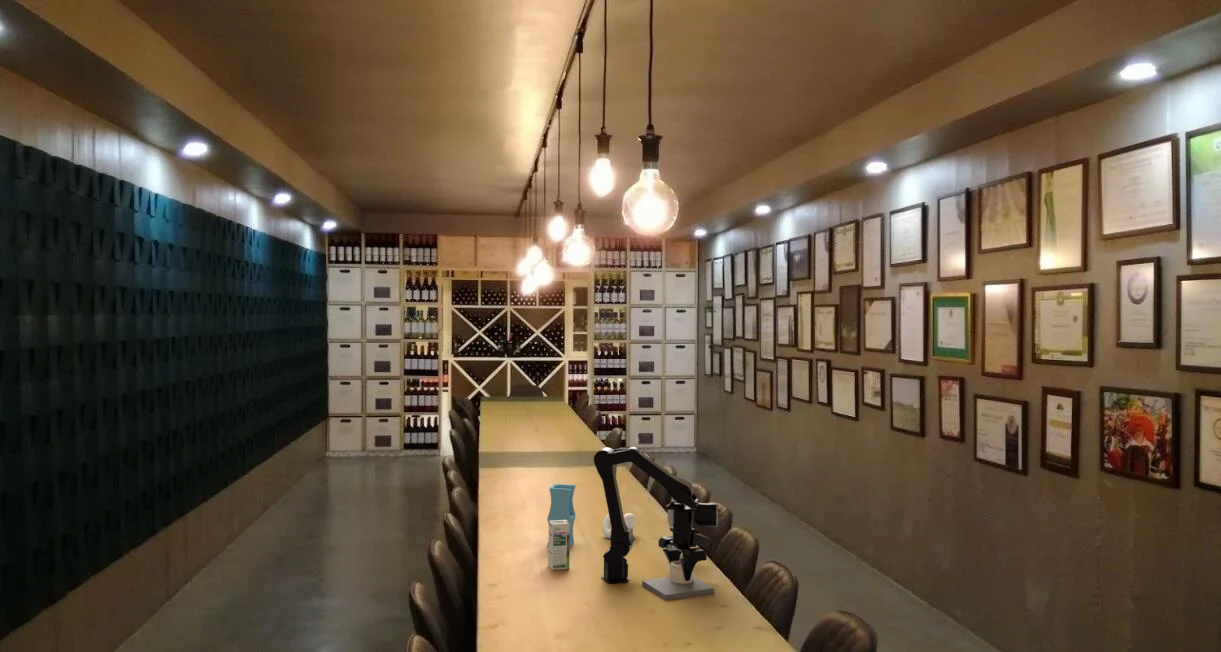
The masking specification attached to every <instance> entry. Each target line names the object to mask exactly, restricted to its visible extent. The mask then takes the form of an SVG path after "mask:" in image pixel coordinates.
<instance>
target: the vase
mask: <svg viewBox="0 0 1221 652" xmlns="http://www.w3.org/2000/svg"><path fill="white" fill-rule="evenodd" d="M548 489H549V493H550V509H549V512H548V516H547V525H548V526H549V521H554V520H567V521H568V522H569V523H570V548H571V547H572V546H573V545H574V543H575V541H574V525H575V524H574V523H575V521H576V512H575V508H574V502H573V500H574V494H575V490H576V484H565V483H564V484H560V483H554V484H552V485H551V486H549V488H548ZM548 544H549V540H548V542H547V547H548Z"/></svg>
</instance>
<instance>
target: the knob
mask: <svg viewBox="0 0 1221 652" xmlns="http://www.w3.org/2000/svg"><path fill="white" fill-rule="evenodd" d="M694 570H695V569H693V571H692V574H691V577H690V580H689V581H685V577H684V574H683V570H682V566H681V562H680V560H674V561H672V562H671V565H670V564H669V577H670V580H671V581H672V582H674V583H681V584H685V583H691V582H692V581H693V577H694Z"/></svg>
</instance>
